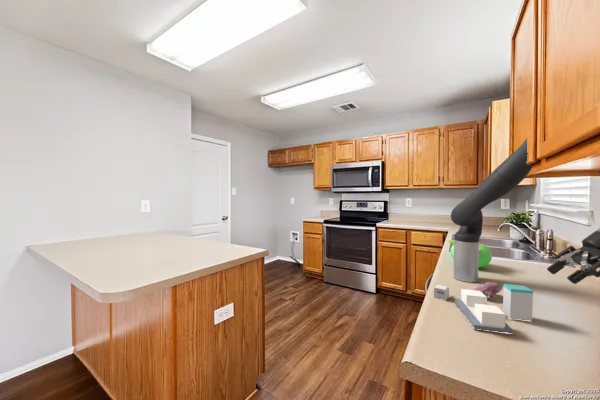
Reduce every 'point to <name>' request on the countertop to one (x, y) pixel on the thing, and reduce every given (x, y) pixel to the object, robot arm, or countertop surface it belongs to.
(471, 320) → the board
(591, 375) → the countertop surface
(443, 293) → the usb wall charger
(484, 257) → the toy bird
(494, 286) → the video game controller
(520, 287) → the teal and white module
